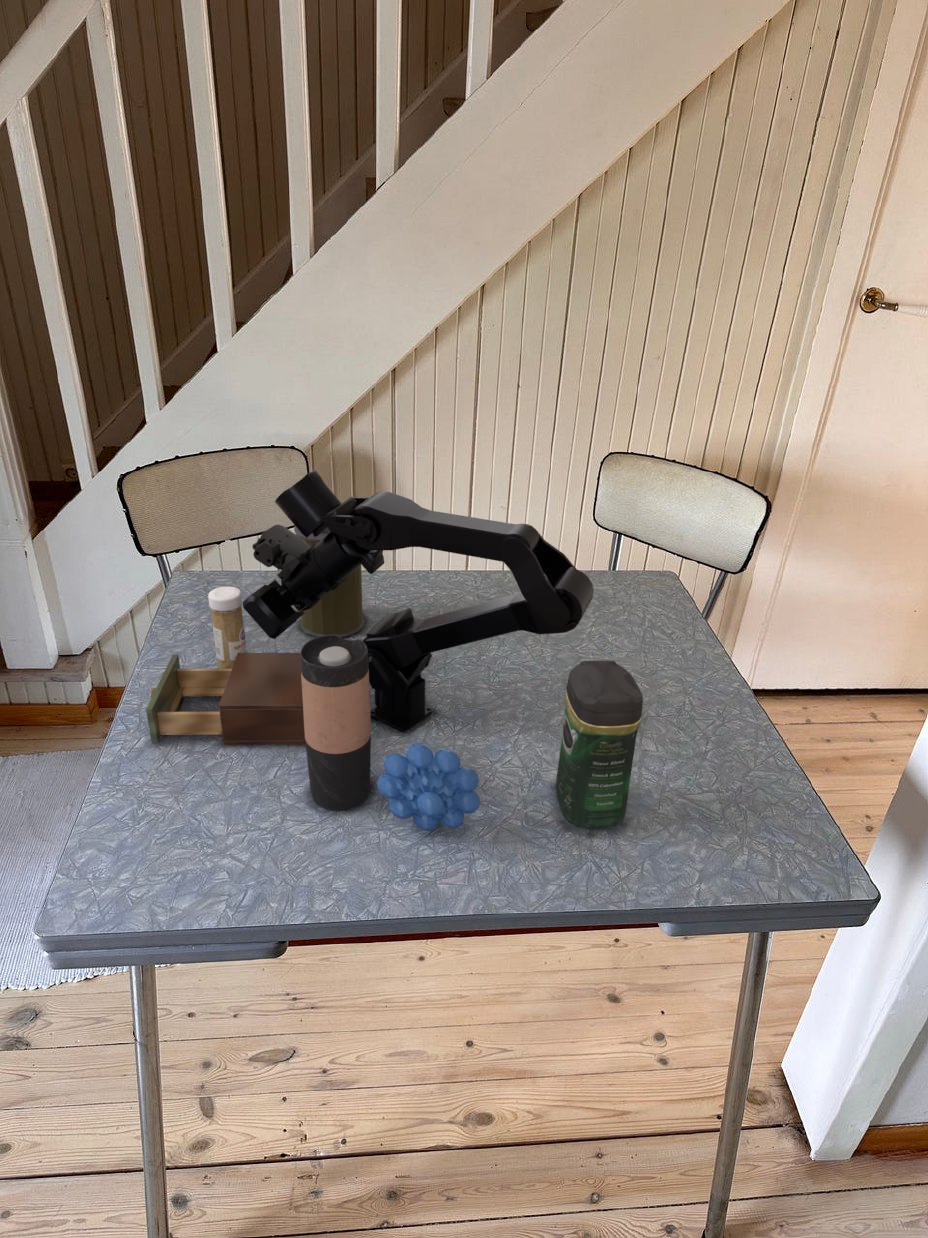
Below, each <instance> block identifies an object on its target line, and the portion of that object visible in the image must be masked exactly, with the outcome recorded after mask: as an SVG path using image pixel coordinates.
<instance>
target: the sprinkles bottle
mask: <svg viewBox="0 0 928 1238" xmlns="http://www.w3.org/2000/svg"><path fill="white" fill-rule="evenodd" d="M242 595H243V594H242V592H241V590H240V589H239V588H237V587H234V586H219V587H216V588H214V589H212V590H210V591H209V592H208V596H207V598H208V606H209V608H210V611H211V620H212V631H213V639H214V646H215V648H214V649H215V655H216V658H217V666H218V669H232V667H233V664H234V662H235V659H236V656H237V653H248V651H247V650H248V649H247V641H246V632H245V625H244V618H243V617H244V616H243V609H242V608H243V596H242Z"/></svg>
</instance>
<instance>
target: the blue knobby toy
mask: <svg viewBox="0 0 928 1238" xmlns="http://www.w3.org/2000/svg"><path fill="white" fill-rule="evenodd" d="M461 764H462V763H461V758H460V756H459V755H458V754H457V753H456V752H455V751H454V750H451V749H449V748H443V749H439V750H438V751H436V752H435V754H434V753H433V751H432V749H430V747H428V746H427V745H425V744H423V743H413V744H411V745H410V746H409V747H408V748H407V751H406V754H405V756H404V755H403V754H401V753H398V752H397V753H390V754H388V755H387V756H386V757H385V759H384V762H383V767H384V772H385V774H382V775H381V776H380V777H379V778H378V781H377V783H376V786H377V791H378V792H379V794H381V796H383V797H384V798H386V799H389V803H388V807H389V811H390V812H391V815H393V816H394V817H396V818H397V819H399V820H408V819H411V818H412V819H413V823H414V824H415V826H416V827H417V828H418V829H421V830H423V831H425V832H426V831H427V832H428V831H434V830H435V829H436V828H437V827H438V825H439V822H440V823H441V824H442V825H443V826H444V827H446V828H448V829H457V828H459V827H461V826H462V825H463V823H464V821H465V819H466V818H465V814H474V813H475V812H477V811H478V810H479V808H480V805H481V799H480V796H479V794H477V793H476V791H475V790H476V789H477V788H478V786H479V784H480V783H479V782H480V778H479V775H478V774H477V773H476V771H475V769H474V770H473V769H472V768H470V767H468V766H461Z"/></svg>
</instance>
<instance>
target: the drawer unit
mask: <svg viewBox="0 0 928 1238" xmlns="http://www.w3.org/2000/svg"><path fill="white" fill-rule="evenodd" d="M218 709H219V711H218V712H220V719H221V727H222V734H223V735H222V741H223V745H224V746H226V745H227V746H228V745H229V746H230V745H231V746H232V745H233V746H234V745H238V746H239V745H241V746H243V745H306V743H305V731H304V713H303V696H302V679H301V661H300V652H247V653H237V656H236V659H235V662H234V664H233V667H232V670H231V673H230V676H229V679H228V681H227V684H226V687H225V690H224V693H223V695H222V696H221V698H220V700H219V704H218Z"/></svg>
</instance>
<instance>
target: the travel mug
mask: <svg viewBox="0 0 928 1238" xmlns="http://www.w3.org/2000/svg"><path fill="white" fill-rule="evenodd" d="M299 653H300V661H301V679H302V696H303V713H304V731H305V743H306V744H305V752H306V760H307V769H308V770H307V771H308V778H309V788H310V794H311V798H312V801H313V802H314V803H315V804H316V805H317V806H318V807H320V808H322V809H324V810H328V811H331V812H332V811H333V812H344V811H348V810H353V809H355V808H358V807H360V806H361V805H362V804H364V803H365V801H366V800H367V799H368V797H369V795H370V792H371V767H372V766H371V759H372V758H371V757H372V756H371V755H372V747H371V746H372V726H371V725H372V722H371V721H372V720H371V717H370V711H371V697H370V682H369V664H368V649H367V646H366V645H365V643H364V642H363V640H361V639H360V638H356V639H354V640H353V639H346V638H344V637H343V638H341V637H340V636H339V635H335V634H333V635H325V636H320V637H315V638H312V639H310V640H308V641H307V642H306V643H304V644H303V646H302V647H301V649H300V652H299Z"/></svg>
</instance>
